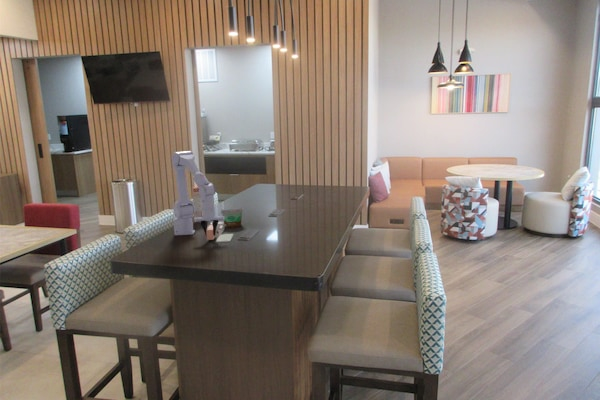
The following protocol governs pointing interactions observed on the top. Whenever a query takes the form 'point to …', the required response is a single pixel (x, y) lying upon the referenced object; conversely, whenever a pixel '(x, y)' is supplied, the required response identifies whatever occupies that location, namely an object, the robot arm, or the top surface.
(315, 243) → the top surface
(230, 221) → the food container
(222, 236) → the white rectangular board
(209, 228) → the salmon pink rectangular prism
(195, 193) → the cracker box
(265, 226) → the top surface
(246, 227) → the top surface
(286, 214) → the top surface
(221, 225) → the white u-shaped piece
